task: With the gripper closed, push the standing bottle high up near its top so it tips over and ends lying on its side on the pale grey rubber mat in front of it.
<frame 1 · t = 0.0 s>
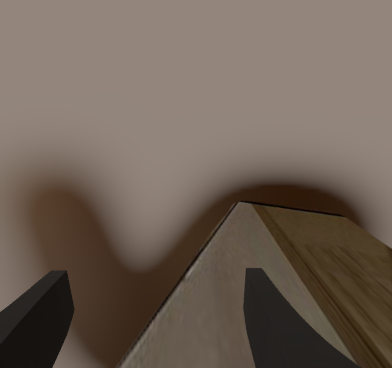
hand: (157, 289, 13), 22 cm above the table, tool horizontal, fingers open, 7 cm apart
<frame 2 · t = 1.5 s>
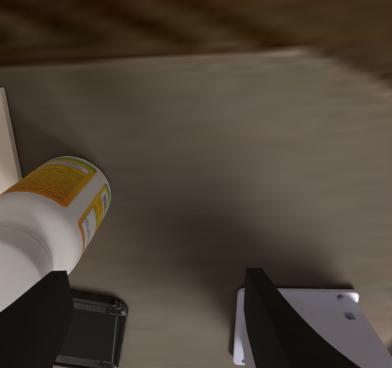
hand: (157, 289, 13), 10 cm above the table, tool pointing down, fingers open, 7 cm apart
supplement bottle: (75, 189, 23), on the table
phone: (38, 316, 28), on the table
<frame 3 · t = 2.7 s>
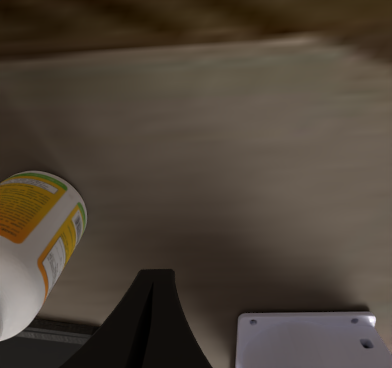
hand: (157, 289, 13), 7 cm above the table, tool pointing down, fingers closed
supplement bottle: (45, 208, 20), on the table
phone: (13, 347, 25), on the table
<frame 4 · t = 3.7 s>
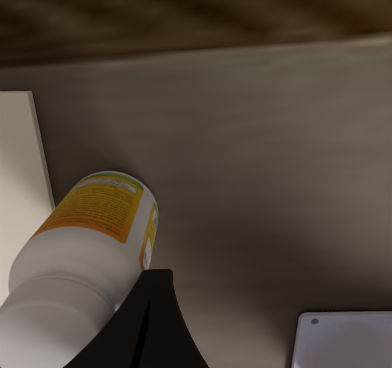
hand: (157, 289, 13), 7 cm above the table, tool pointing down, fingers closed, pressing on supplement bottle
supplement bottle: (115, 208, 20), on the table, touching gripper
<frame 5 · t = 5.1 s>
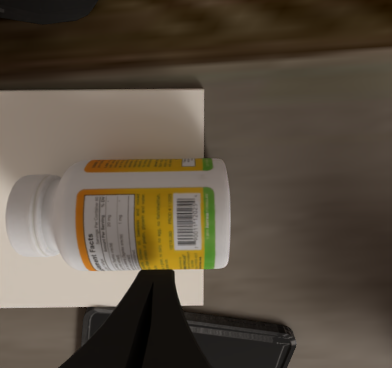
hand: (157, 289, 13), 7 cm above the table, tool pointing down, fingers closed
rubber mat: (86, 210, 19), on the table
supplement bottle: (229, 212, 16), point 3 cm above the table, touching rubber mat
phone: (185, 345, 25), on the table
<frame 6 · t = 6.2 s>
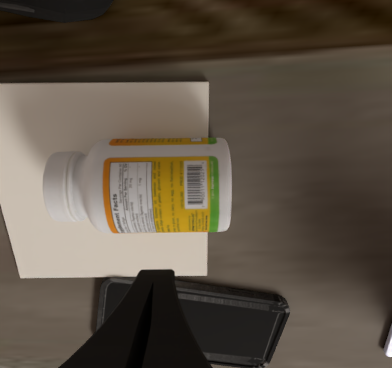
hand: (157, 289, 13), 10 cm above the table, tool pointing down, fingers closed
rubber mat: (104, 189, 22), on the table
supplement bottle: (231, 184, 19), point 3 cm above the table, touching rubber mat
phone: (190, 314, 27), on the table
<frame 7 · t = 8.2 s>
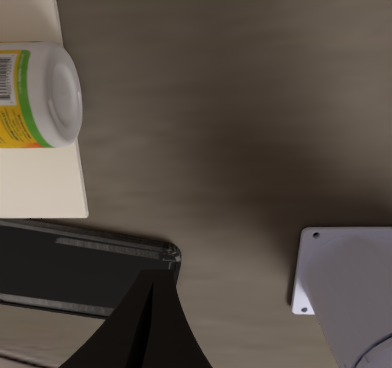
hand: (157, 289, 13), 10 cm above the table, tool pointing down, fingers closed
supplement bottle: (70, 96, 17), point 3 cm above the table, touching rubber mat
phone: (83, 266, 26), on the table
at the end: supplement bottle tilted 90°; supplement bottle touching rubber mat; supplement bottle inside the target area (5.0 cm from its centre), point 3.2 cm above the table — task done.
